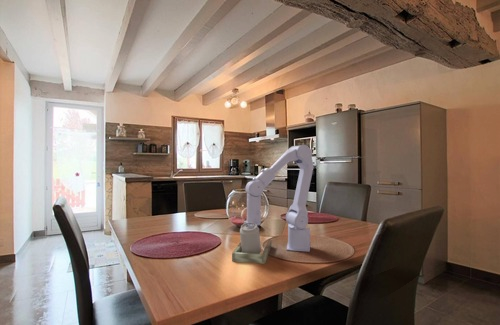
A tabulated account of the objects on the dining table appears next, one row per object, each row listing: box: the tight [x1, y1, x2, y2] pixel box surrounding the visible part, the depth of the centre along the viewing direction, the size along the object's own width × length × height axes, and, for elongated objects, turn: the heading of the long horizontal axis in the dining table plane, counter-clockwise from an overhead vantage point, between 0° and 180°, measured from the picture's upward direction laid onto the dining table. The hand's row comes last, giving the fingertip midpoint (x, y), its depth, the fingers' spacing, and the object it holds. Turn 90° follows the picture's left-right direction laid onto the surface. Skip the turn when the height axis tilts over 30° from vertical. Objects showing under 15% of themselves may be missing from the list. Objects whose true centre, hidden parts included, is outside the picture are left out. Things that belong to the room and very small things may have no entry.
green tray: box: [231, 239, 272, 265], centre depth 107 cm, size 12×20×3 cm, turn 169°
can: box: [239, 222, 262, 254], centre depth 103 cm, size 8×8×12 cm
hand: (253, 244), depth 108 cm, fingers closed
